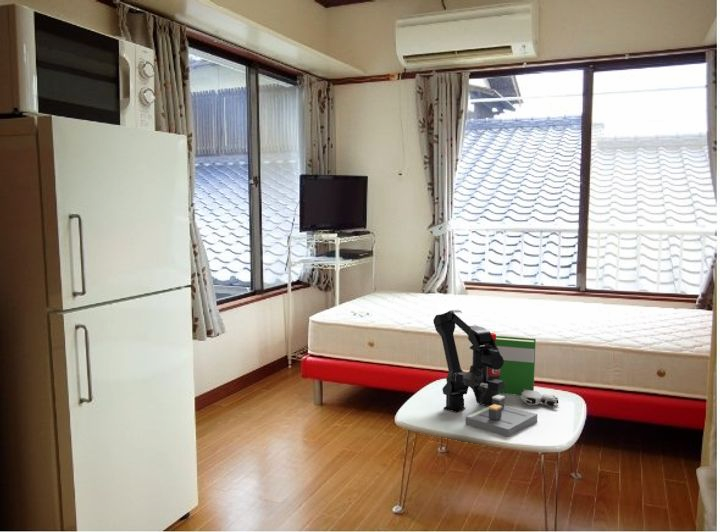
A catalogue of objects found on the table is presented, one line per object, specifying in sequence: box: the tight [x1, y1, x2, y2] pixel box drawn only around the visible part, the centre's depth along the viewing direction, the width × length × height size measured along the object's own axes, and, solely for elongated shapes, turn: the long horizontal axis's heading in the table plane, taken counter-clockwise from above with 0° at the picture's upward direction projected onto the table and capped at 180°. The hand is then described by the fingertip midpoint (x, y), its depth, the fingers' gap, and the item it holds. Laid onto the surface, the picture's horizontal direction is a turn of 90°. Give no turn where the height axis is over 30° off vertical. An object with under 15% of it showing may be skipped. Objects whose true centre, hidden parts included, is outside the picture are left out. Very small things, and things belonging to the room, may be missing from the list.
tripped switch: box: [488, 404, 502, 420], centre depth 224 cm, size 3×4×4 cm
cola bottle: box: [480, 332, 500, 407], centre depth 249 cm, size 8×8×30 cm
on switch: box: [492, 394, 506, 408], centre depth 235 cm, size 3×4×4 cm
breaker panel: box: [464, 405, 538, 438], centre depth 228 cm, size 18×22×3 cm
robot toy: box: [520, 389, 559, 407], centre depth 251 cm, size 12×4×15 cm
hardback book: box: [495, 335, 537, 396], centre depth 266 cm, size 18×7×24 cm, turn 71°
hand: (478, 403), depth 229 cm, fingers closed
